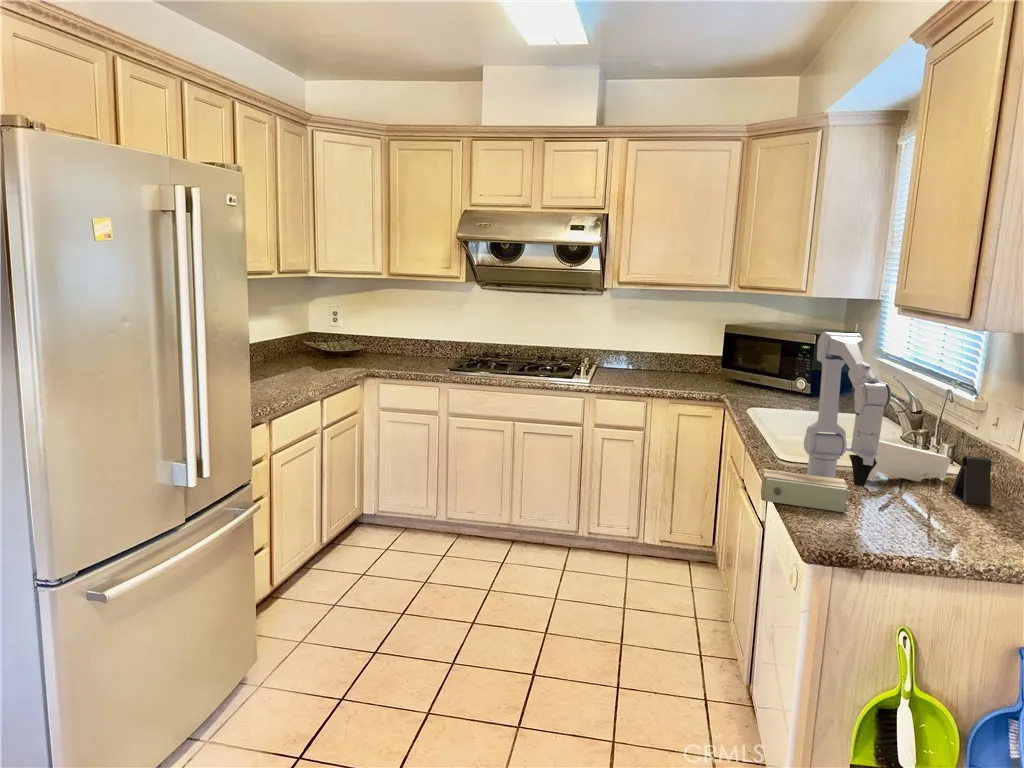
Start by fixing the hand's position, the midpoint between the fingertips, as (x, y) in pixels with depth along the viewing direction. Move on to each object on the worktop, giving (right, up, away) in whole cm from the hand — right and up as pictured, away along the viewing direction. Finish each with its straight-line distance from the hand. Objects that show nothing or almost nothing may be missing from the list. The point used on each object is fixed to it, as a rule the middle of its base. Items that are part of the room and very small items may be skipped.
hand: (858, 485), depth 164 cm
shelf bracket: (+32, -4, +35) cm, 48 cm away
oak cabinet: (-8, -6, +13) cm, 17 cm away
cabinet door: (-10, -7, +8) cm, 14 cm away
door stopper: (+41, -7, +20) cm, 47 cm away
